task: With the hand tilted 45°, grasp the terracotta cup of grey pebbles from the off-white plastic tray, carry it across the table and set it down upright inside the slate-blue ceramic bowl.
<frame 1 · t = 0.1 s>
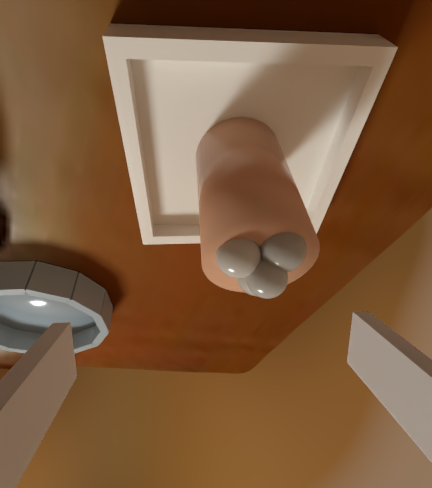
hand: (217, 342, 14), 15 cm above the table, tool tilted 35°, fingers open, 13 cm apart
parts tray: (236, 150, 24), on the table
pebble cup: (237, 157, 23), point 1 cm above the table, touching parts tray
bowl: (43, 301, 37), on the table
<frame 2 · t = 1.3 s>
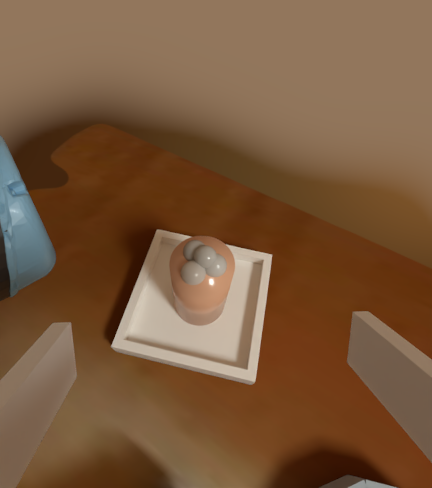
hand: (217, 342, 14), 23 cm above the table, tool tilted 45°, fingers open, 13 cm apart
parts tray: (199, 303, 39), on the table
pebble cup: (199, 300, 38), point 1 cm above the table, touching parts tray
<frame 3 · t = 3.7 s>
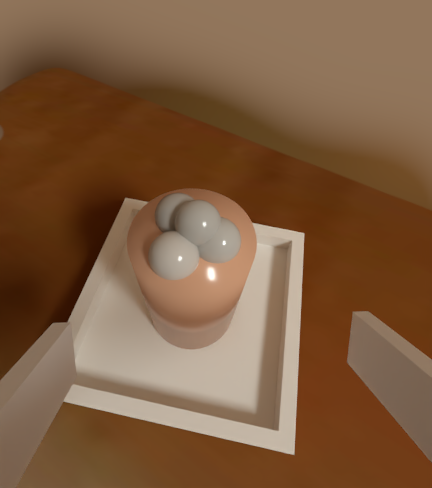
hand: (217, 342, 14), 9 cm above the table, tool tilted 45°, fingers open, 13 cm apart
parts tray: (192, 311, 24), on the table
pebble cup: (192, 306, 23), point 1 cm above the table, touching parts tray
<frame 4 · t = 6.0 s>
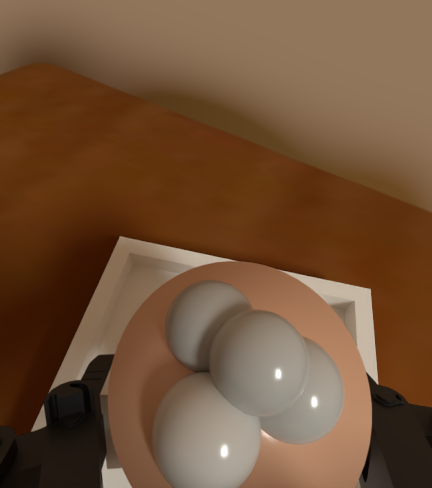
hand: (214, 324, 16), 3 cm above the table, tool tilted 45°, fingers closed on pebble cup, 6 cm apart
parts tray: (214, 406, 17), on the table
pebble cup: (215, 405, 16), point 1 cm above the table, touching gripper, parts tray
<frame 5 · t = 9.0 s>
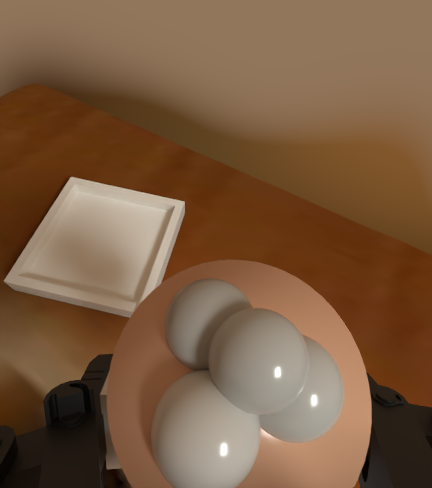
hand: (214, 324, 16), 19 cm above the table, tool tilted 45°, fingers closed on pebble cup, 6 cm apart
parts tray: (108, 247, 39), on the table
pebble cup: (215, 404, 16), point 16 cm above the table, touching gripper
when the fingers open (5 cm above the table, at t = 12.2 s): pebble cup drops 1 cm, resting on bowl.
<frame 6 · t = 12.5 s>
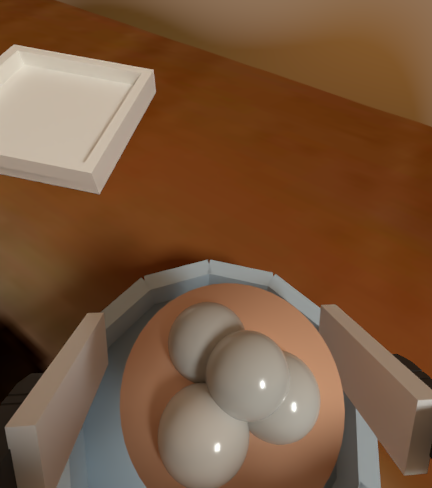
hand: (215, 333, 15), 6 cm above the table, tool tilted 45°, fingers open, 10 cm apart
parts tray: (56, 121, 31), on the table
pebble cup: (213, 408, 17), point 1 cm above the table, touching bowl
bowl: (212, 408, 18), on the table
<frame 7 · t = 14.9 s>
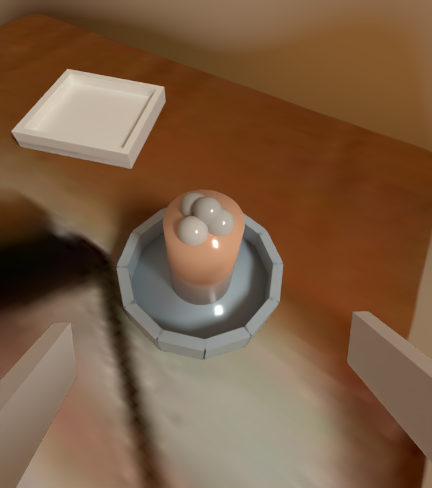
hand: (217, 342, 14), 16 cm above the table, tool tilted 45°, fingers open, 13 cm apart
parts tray: (99, 122, 46), on the table
pebble cup: (200, 276, 32), point 1 cm above the table, touching bowl
bowl: (200, 280, 33), on the table
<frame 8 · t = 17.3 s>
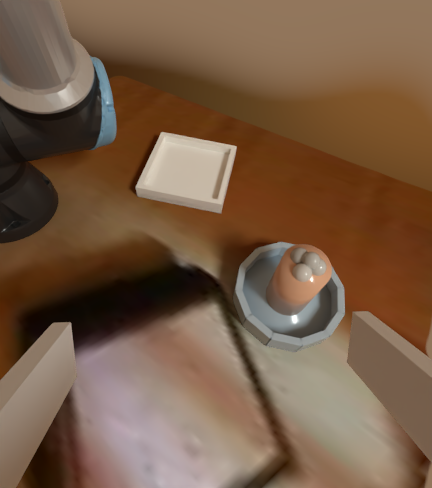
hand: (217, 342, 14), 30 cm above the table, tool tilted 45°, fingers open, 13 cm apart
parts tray: (189, 174, 60), on the table
pebble cup: (285, 295, 47), point 1 cm above the table, touching bowl
bowl: (284, 297, 48), on the table
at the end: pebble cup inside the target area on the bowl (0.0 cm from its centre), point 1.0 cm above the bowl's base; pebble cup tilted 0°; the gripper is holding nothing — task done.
